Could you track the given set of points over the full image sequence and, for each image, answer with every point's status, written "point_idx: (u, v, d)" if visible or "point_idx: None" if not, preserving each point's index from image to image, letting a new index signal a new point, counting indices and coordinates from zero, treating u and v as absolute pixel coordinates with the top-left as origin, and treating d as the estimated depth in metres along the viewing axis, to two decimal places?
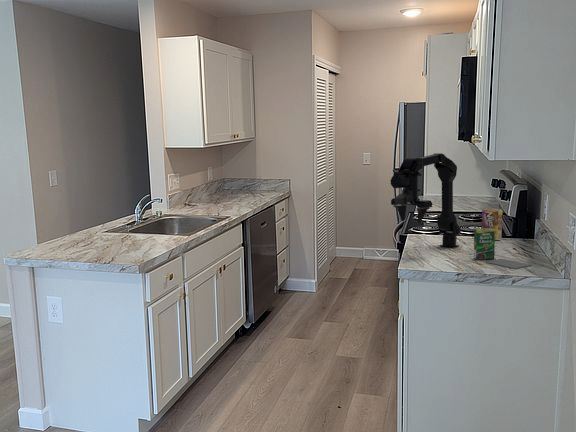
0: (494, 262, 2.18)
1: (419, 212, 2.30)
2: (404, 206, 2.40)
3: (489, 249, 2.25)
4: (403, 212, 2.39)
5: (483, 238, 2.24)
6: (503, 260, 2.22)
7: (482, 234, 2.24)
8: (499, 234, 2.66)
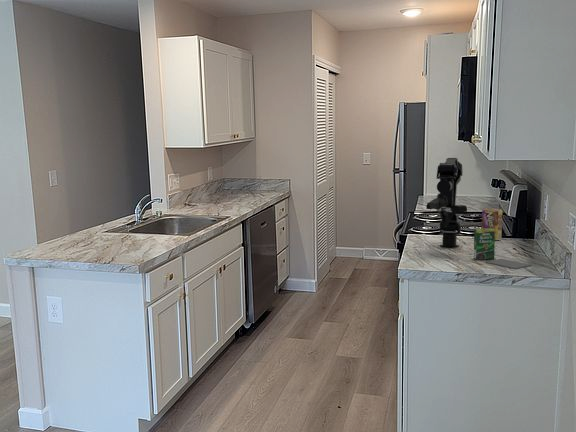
0: (494, 262, 2.18)
1: (446, 216, 2.36)
2: None
3: (489, 249, 2.25)
4: None
5: (483, 238, 2.24)
6: (503, 260, 2.22)
7: (482, 234, 2.24)
8: (499, 234, 2.66)
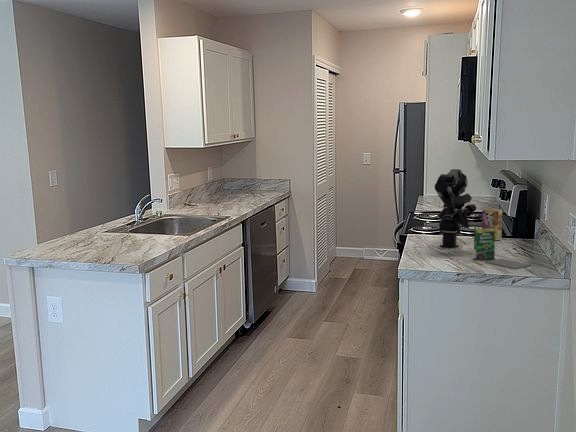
0: (494, 262, 2.18)
1: (466, 215, 2.35)
2: None
3: (489, 249, 2.25)
4: None
5: (483, 238, 2.24)
6: (503, 260, 2.22)
7: (482, 234, 2.24)
8: (499, 234, 2.66)
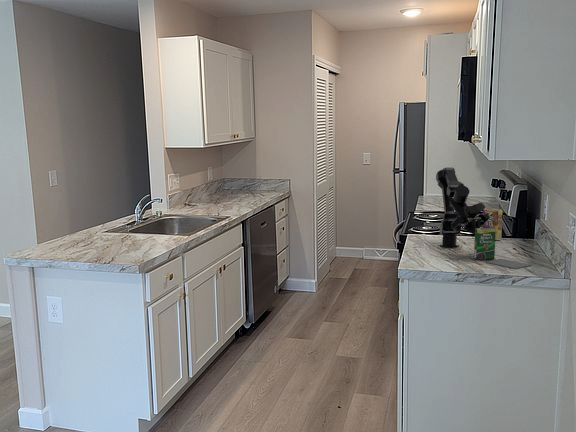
0: (494, 262, 2.18)
1: (479, 225, 2.29)
2: None
3: (489, 249, 2.25)
4: None
5: (484, 238, 2.24)
6: (503, 260, 2.22)
7: (483, 234, 2.23)
8: (499, 234, 2.66)
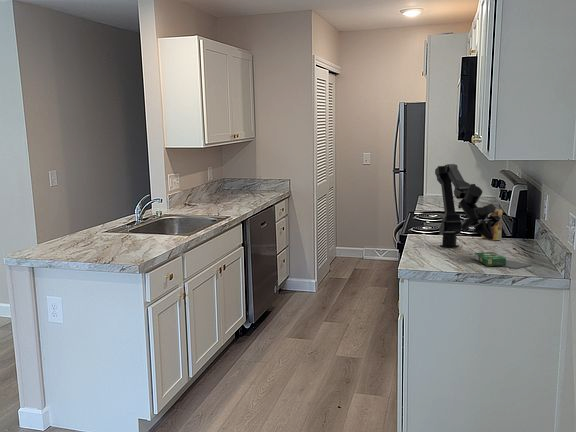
0: None
1: (489, 226, 2.25)
2: None
3: None
4: None
5: None
6: None
7: None
8: (499, 234, 2.66)
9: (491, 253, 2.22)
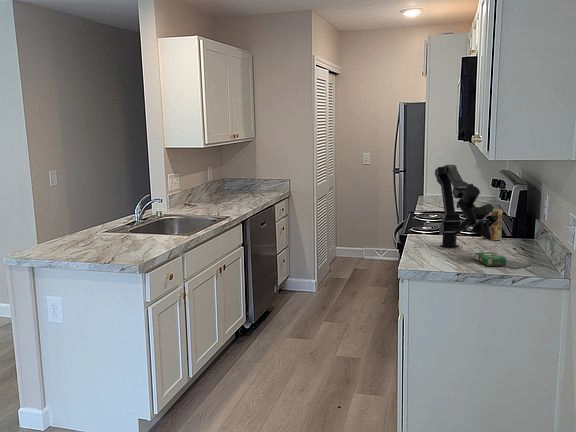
0: None
1: (487, 226, 2.26)
2: None
3: None
4: None
5: None
6: None
7: None
8: (499, 234, 2.66)
9: (491, 253, 2.22)
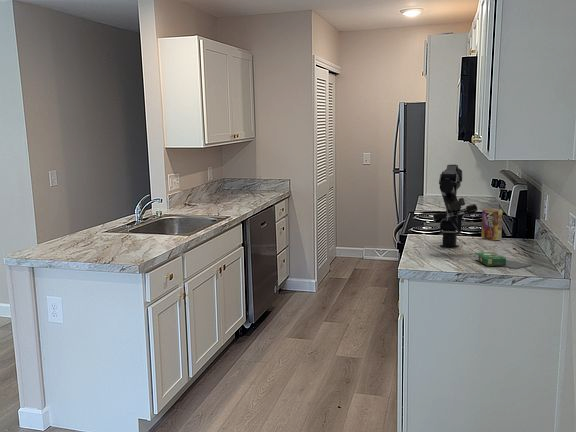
0: None
1: (460, 219, 2.33)
2: None
3: None
4: None
5: None
6: None
7: None
8: (499, 234, 2.66)
9: (491, 253, 2.22)
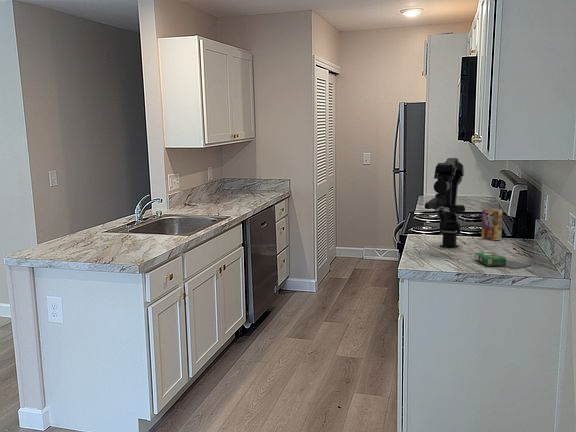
0: None
1: (444, 215, 2.36)
2: None
3: None
4: None
5: None
6: None
7: None
8: (499, 234, 2.66)
9: (491, 253, 2.22)
